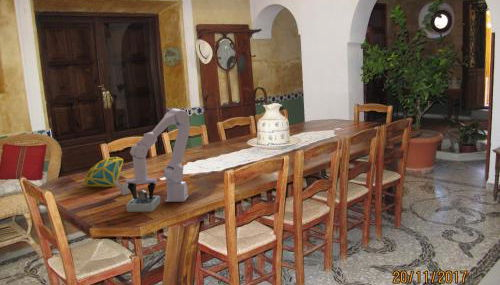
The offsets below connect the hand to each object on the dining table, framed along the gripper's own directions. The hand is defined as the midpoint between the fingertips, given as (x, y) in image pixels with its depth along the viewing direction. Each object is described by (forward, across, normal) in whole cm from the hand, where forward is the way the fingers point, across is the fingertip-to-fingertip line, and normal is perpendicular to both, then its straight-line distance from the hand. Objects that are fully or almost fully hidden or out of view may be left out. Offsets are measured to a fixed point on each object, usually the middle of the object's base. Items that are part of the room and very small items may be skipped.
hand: (143, 198), depth 217 cm
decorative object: (+4, -34, +34) cm, 48 cm away
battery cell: (+3, 0, 0) cm, 4 cm away
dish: (+4, 0, 0) cm, 4 cm away
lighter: (+4, -18, +19) cm, 27 cm away
